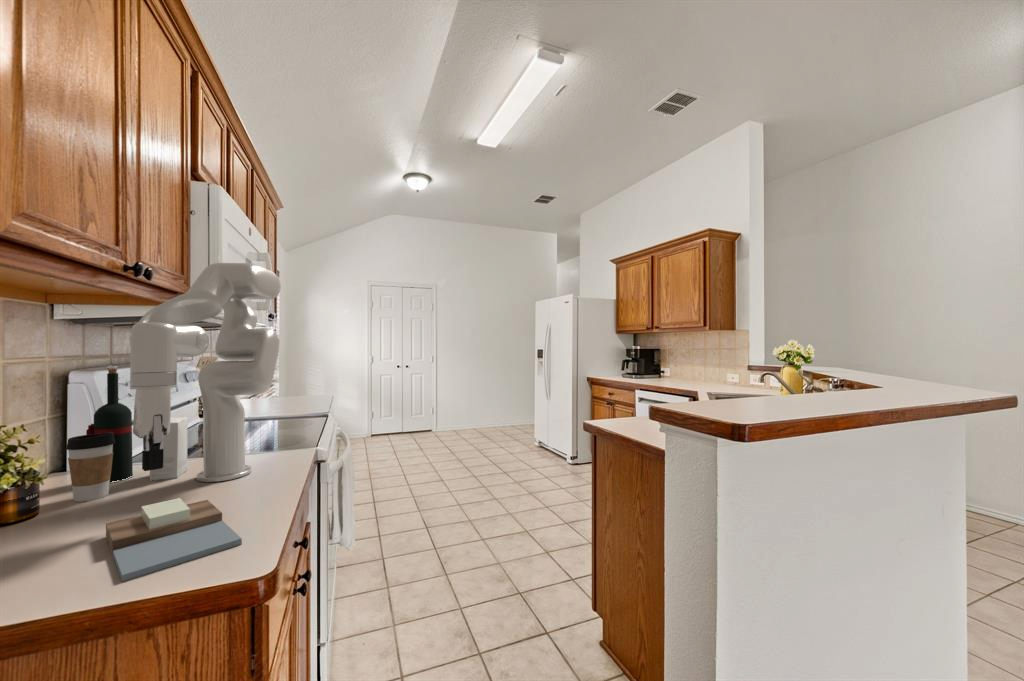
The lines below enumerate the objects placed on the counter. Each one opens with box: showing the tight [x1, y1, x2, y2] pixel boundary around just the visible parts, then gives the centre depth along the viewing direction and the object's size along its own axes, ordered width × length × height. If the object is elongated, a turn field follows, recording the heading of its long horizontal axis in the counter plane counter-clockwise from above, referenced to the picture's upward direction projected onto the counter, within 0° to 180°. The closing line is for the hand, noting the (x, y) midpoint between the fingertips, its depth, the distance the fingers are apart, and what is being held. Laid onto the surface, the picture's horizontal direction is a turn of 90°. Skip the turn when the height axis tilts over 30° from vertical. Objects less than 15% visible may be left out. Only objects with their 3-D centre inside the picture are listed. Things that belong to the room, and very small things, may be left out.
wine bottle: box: [85, 368, 134, 482], centre depth 115 cm, size 8×10×30 cm
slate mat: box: [112, 520, 243, 583], centre depth 75 cm, size 12×16×1 cm
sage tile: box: [141, 497, 190, 530], centre depth 83 cm, size 9×6×2 cm, turn 48°
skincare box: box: [149, 416, 189, 481], centre depth 119 cm, size 8×7×16 cm
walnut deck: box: [105, 499, 223, 556], centre depth 83 cm, size 11×16×2 cm
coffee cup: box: [65, 432, 115, 503], centre depth 102 cm, size 8×8×15 cm
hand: (152, 468), depth 89 cm, fingers closed
